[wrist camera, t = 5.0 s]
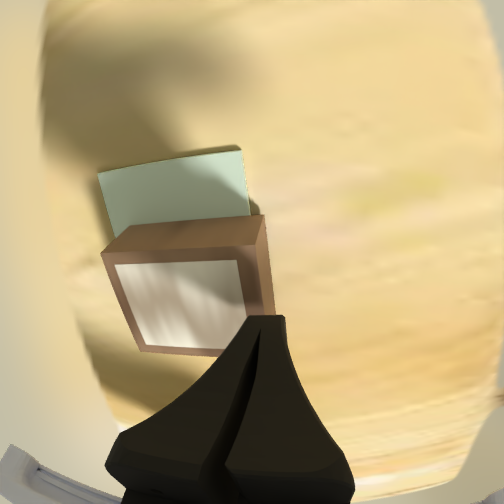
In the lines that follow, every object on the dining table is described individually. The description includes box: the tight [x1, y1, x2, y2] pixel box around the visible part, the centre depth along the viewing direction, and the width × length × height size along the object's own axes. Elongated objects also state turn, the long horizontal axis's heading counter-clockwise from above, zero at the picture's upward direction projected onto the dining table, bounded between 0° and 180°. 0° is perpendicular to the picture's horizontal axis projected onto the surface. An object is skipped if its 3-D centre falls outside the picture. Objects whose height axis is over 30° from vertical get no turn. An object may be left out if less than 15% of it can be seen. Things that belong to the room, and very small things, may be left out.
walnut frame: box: [100, 215, 276, 357], centre depth 15 cm, size 6×3×7 cm
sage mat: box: [97, 150, 251, 238], centre depth 17 cm, size 12×8×1 cm, turn 8°
